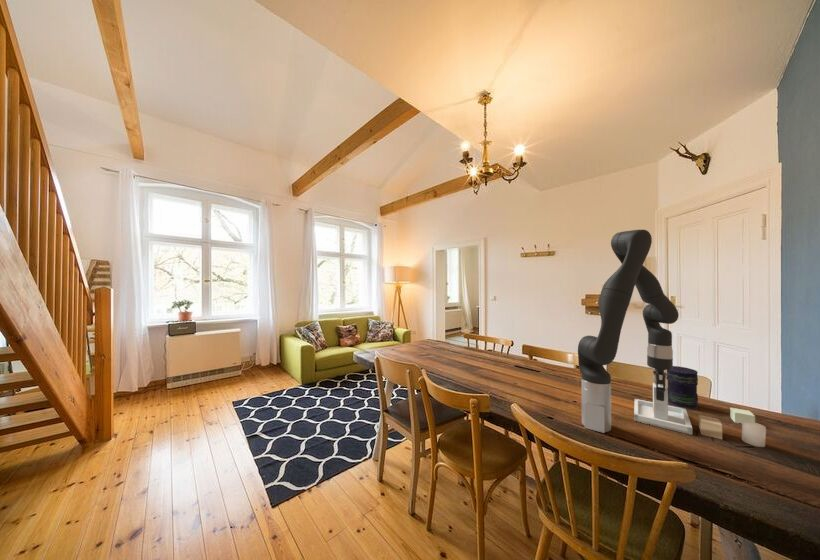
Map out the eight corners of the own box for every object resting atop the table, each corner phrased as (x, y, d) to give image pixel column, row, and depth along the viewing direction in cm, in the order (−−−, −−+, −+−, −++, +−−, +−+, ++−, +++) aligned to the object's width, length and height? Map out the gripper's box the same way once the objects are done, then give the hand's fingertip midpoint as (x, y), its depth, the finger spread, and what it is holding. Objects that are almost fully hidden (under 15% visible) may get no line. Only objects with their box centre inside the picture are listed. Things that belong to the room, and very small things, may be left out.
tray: (692, 435, 99) (692, 427, 99) (634, 420, 109) (634, 414, 109) (685, 415, 113) (685, 408, 113) (634, 404, 123) (634, 398, 123)
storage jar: (695, 411, 116) (695, 375, 116) (663, 402, 124) (663, 368, 124) (700, 404, 122) (700, 370, 122) (669, 396, 130) (669, 364, 130)
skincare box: (652, 411, 114) (652, 382, 114) (666, 414, 112) (666, 384, 112) (653, 417, 110) (653, 386, 109) (668, 421, 107) (668, 389, 107)
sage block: (755, 426, 104) (755, 416, 104) (734, 422, 107) (734, 412, 107) (749, 421, 108) (749, 410, 108) (730, 417, 111) (730, 407, 111)
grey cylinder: (764, 449, 91) (765, 430, 90) (740, 441, 95) (741, 423, 94) (765, 443, 93) (766, 425, 93) (742, 436, 98) (743, 419, 97)
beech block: (722, 439, 96) (722, 425, 96) (701, 434, 99) (701, 420, 99) (719, 433, 100) (719, 419, 100) (699, 428, 103) (698, 415, 103)
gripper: (674, 361, 103) (674, 405, 103) (671, 353, 114) (670, 393, 114) (647, 357, 108) (647, 400, 108) (646, 350, 119) (646, 388, 119)
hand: (659, 396), depth 111 cm, fingers open, 8 cm apart
